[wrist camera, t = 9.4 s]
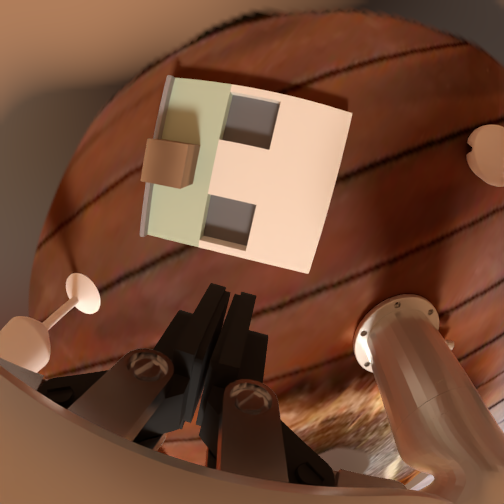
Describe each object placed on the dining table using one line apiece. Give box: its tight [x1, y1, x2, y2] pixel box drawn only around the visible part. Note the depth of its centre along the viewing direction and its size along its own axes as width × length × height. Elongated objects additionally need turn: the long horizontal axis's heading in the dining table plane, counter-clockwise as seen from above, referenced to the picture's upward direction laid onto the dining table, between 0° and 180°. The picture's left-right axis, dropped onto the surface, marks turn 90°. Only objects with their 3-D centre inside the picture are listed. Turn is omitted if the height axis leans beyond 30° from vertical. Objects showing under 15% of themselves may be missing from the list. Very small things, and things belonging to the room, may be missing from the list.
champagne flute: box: [0, 273, 100, 373], centre depth 26 cm, size 7×7×24 cm
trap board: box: [140, 75, 352, 274], centre depth 28 cm, size 18×17×3 cm
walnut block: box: [141, 138, 201, 189], centre depth 26 cm, size 4×4×4 cm
